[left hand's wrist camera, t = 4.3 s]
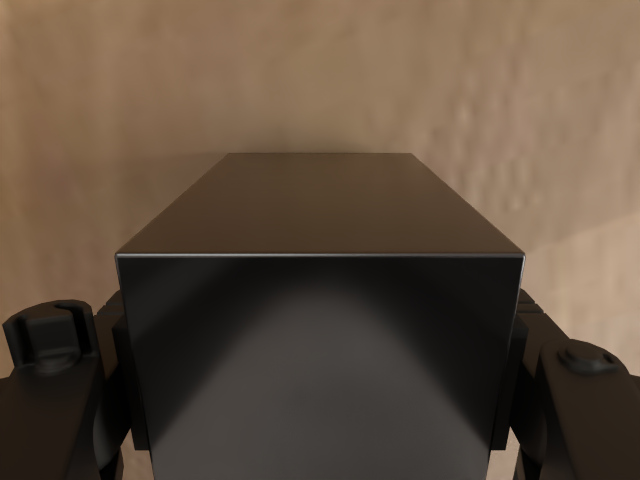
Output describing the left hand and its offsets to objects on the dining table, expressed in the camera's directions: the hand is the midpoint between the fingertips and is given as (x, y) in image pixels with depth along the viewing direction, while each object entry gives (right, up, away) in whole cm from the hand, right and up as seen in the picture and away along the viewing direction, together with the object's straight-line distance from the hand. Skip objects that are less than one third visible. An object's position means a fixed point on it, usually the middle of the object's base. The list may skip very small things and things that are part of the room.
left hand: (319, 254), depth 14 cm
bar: (0, -9, +4) cm, 10 cm away
